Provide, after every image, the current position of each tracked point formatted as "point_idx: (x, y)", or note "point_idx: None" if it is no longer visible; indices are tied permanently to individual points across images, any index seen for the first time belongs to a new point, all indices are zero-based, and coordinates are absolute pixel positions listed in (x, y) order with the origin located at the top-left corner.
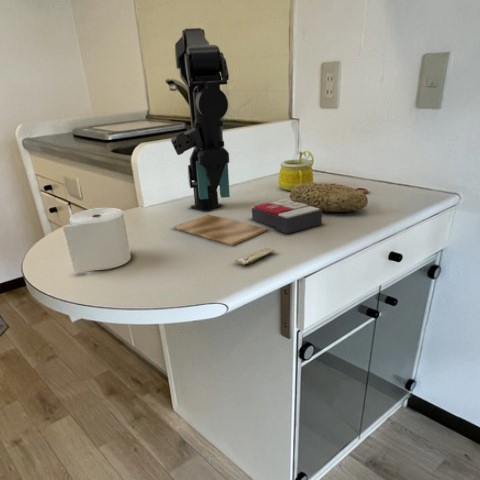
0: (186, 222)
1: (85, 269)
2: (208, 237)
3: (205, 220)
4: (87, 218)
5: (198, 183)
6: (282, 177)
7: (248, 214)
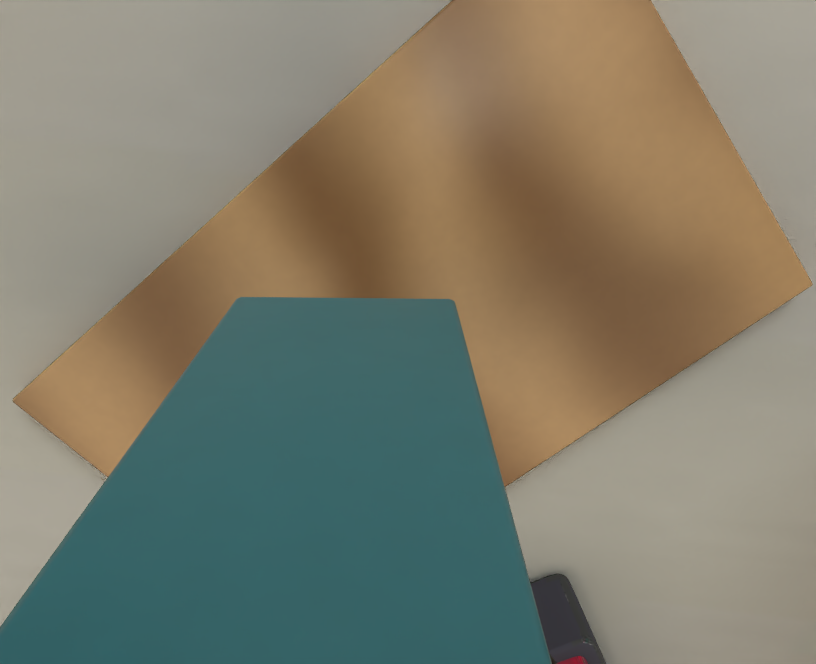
0: (672, 41)
1: None
2: (198, 231)
3: (648, 243)
4: None
5: (129, 449)
6: None
7: (694, 563)
